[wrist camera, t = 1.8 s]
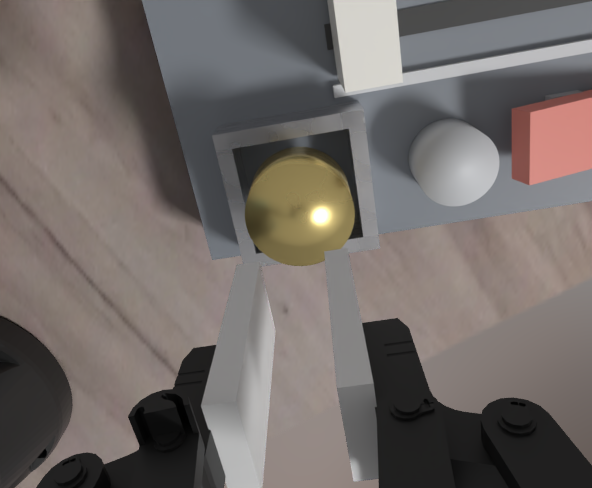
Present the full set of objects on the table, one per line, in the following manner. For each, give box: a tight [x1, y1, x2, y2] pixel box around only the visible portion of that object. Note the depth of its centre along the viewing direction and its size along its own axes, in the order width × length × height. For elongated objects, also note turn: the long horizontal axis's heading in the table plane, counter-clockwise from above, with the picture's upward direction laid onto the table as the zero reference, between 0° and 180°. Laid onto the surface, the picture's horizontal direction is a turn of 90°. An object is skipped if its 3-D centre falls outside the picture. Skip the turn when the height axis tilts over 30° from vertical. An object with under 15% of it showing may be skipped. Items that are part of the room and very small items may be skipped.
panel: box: [142, 0, 592, 260], centre depth 27 cm, size 24×15×6 cm, turn 100°
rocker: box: [512, 90, 592, 185], centre depth 26 cm, size 6×4×1 cm, turn 100°
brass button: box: [245, 147, 355, 266], centre depth 25 cm, size 5×5×3 cm
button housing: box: [212, 101, 380, 267], centre depth 27 cm, size 7×7×2 cm
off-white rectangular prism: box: [327, 0, 403, 93], centre depth 23 cm, size 2×4×5 cm, turn 10°
